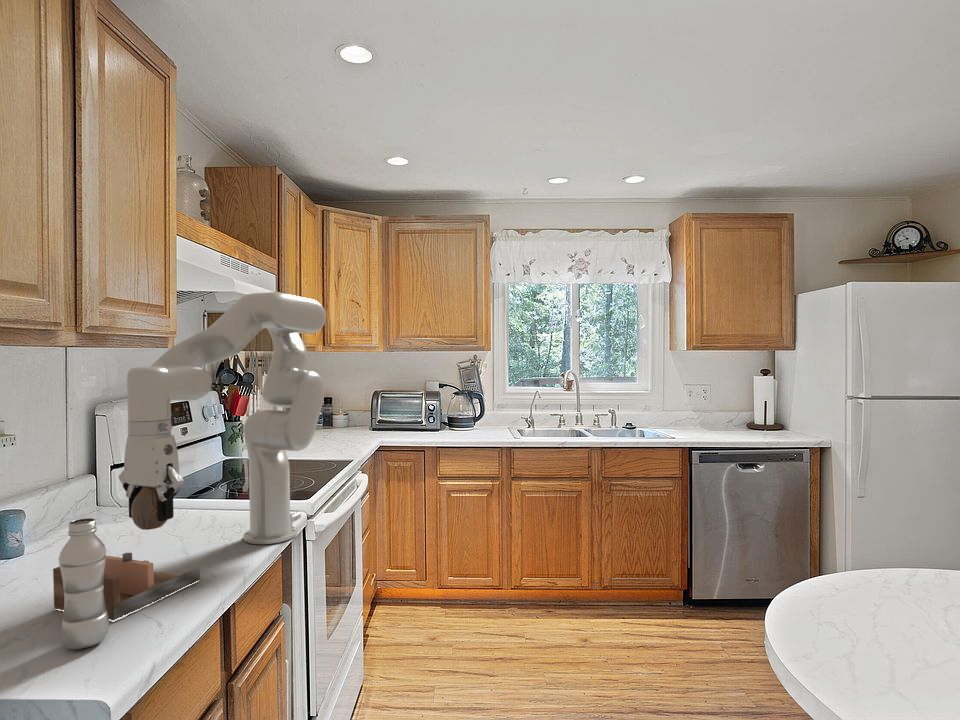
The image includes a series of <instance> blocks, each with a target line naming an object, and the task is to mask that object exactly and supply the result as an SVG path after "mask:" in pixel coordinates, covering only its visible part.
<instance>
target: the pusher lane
mask: <svg viewBox="0 0 960 720" xmlns="http://www.w3.org/2000/svg"><path fill="white" fill-rule="evenodd" d="M143 561H144V562H150V561H149V560H143ZM153 573H154V587H153V588H150V589H148V590H146V591H144V592H141V593H139V594H137V595H135V596H133V595H128V594H122V593H120V578H119V577H116V576H111V575H105V574H104V583H103V585H104V587H103V592H104V599H105V607H106V611H107V614H108V619H111V620H115V619H117V618H119V617H122V616H123V615H126V614H128V613H130V612H133V611H135V610H137V609H140V608H142V607H144V606H146V605H148V604H151V603H152V602H155V601H157V600H159V599H161V598H162V597H165V596H166V595H169V594H171V593H173V592H175V591H177V590H179V589H181V588H183V587H185V586H187V585H189V584H192V583H194V582H196V581H198V580H200V581H201V569H200V568H193V569H191V570H189V571H186V572H184V573H182V574H173V573H168V572H167V573H166V572H160V571H157V570H155V571H154V570H153ZM52 581H53V610H54V609H60V610H64V600H65V598H64V588H63V579H62V575H61V570H60V566H57V567H54V568H52Z"/></svg>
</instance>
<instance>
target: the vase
mask: <svg viewBox="0 0 960 720" xmlns="http://www.w3.org/2000/svg"><path fill="white" fill-rule="evenodd" d="M158 501H161V500H160V498H159V495H158V493H157V490H156V488H152V487H142V489H141V490H140V492H139V493H138V494H137V495H136V497H135V498H134V500H133V503H132V506H131V516H132V518H131V519H132V522H133V524H134V525H135V527H137V528H139V529H140V530H147V531H149V530H154V529H159V528H161V527H163V526H164V525H165V524H166V522H167V521H168V520H165V521H162V522H160V521H158Z"/></svg>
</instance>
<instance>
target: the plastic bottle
mask: <svg viewBox="0 0 960 720" xmlns="http://www.w3.org/2000/svg"><path fill="white" fill-rule="evenodd" d="M97 530H98V529H97V522H96V518H93V517H85V518H84V517H83V518H79V519H75V520H72V521H70V522H69V523H68V531H67V535H68V536H69V537H70V538H69V539H68V540H67V542H66V543H65V544H64V545H63V547H62V549H61V551H60V552H59V556H58V563H59V564H58V565H59V567H60V570H61V575H62V579H63V588H64V598H65V600H64V612H63V619H62V623H61V628H60V638H61V641H62V644H63V646H65V647H66V648H67V649H69V650H83V649H87V648H90V647H92V646H93V647H94V646H96V645H97V644H99V643H101V642H102V641H103V640H104V639H105V638H106V636H107V634H108V633H109V627H110V622H109V619H108V614H107V611H106V607H105V599H104V592H103V587H104V585H103V583H104V568H105V560H106V556H107V548H106V546H105V543H104V542H103V541H102V540H101V539H100V538H99V537H98V536H97V535H96V532H97Z"/></svg>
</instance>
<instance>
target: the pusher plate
mask: <svg viewBox="0 0 960 720" xmlns="http://www.w3.org/2000/svg"><path fill="white" fill-rule="evenodd" d="M153 571H154V562H150V561H149V562H144V560H137V559H133V553H132V552H125V553H122V557H120V556H119V557H118V556H112V555H106V560H105V568H104V574H105V575H111V576H116V577H119V578H120V593H122V594H128V595H133V596H135V595H137V594H139V593H141V592H144V591H146V590H148V589H150V588H153V587H154V573H153Z"/></svg>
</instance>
